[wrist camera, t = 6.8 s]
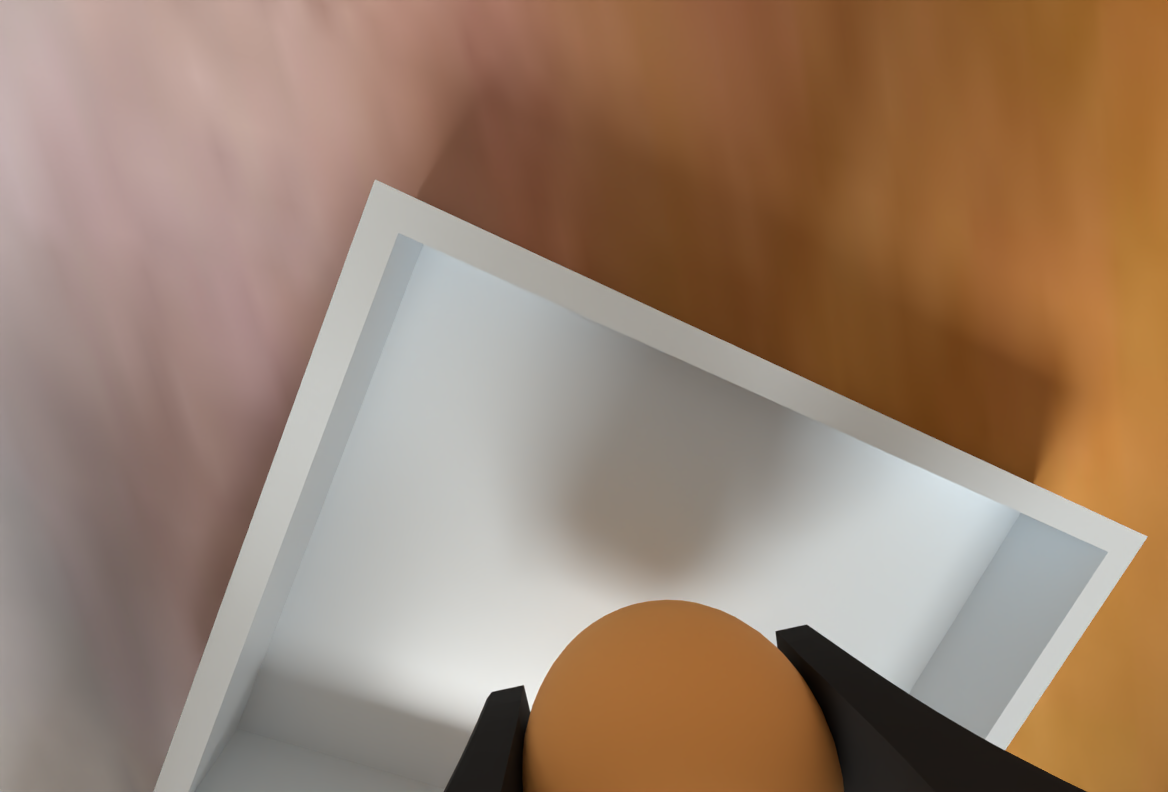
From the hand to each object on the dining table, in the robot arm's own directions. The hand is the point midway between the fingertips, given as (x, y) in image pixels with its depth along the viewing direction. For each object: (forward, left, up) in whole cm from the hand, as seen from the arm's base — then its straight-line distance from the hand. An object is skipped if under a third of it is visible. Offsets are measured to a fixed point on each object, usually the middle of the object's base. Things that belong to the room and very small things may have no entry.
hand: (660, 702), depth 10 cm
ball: (0, 0, +1) cm, 1 cm away
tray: (0, 0, -3) cm, 3 cm away
